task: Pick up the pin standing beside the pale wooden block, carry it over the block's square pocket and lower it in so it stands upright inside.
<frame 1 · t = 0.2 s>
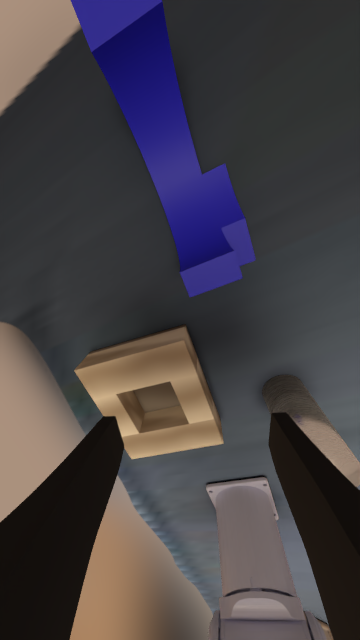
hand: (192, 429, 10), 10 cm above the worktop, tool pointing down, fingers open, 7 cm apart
pocket block: (158, 386, 21), on the worktop
pin: (282, 390, 21), on the worktop
blue curved cradle: (191, 185, 15), on the worktop
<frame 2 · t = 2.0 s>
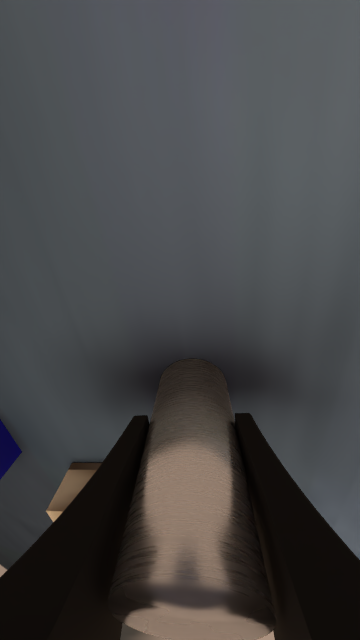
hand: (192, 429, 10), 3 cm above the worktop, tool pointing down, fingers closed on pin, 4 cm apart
pocket block: (156, 501, 17), on the worktop
pin: (192, 386, 12), on the worktop, touching gripper
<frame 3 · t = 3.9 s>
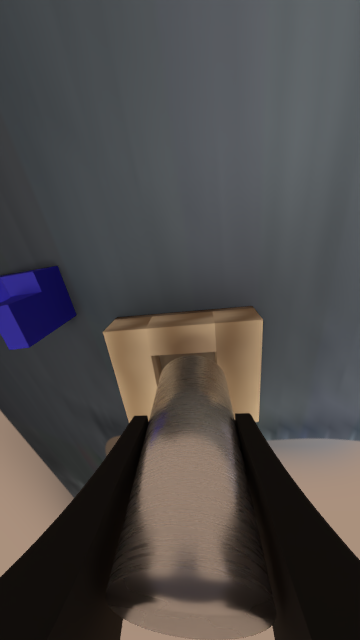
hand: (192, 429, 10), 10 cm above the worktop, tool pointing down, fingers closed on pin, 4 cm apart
pocket block: (187, 359, 20), on the worktop
pin: (192, 384, 12), point 7 cm above the worktop, touching gripper
blue curved cradle: (11, 299, 19), on the worktop
when the fingers open (5 cm above the worktop, at t = 5.8 s): pin drops 1 cm, resting on pocket block.
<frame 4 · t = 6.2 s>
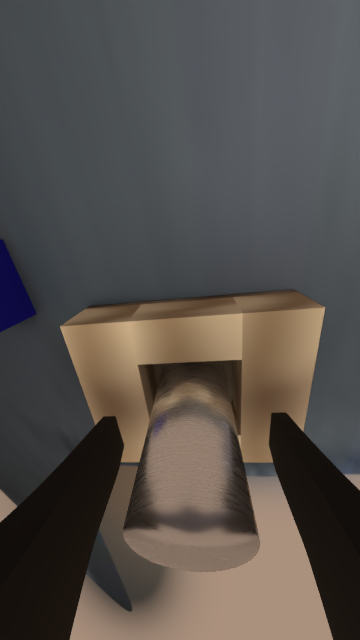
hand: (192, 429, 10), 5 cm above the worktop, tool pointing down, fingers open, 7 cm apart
pocket block: (193, 368, 14), on the worktop
pin: (193, 371, 13), point 1 cm above the worktop, touching pocket block
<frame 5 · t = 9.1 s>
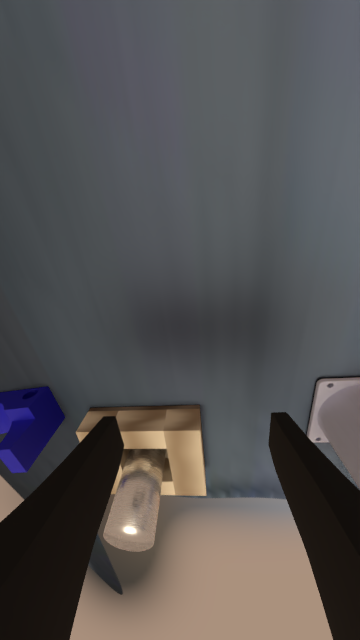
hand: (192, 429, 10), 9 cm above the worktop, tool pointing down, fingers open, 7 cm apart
pocket block: (150, 438, 24), on the worktop
pin: (149, 442, 23), point 1 cm above the worktop, touching pocket block
blue curved cradle: (12, 405, 24), on the worktop
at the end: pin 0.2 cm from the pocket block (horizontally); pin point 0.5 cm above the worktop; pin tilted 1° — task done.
